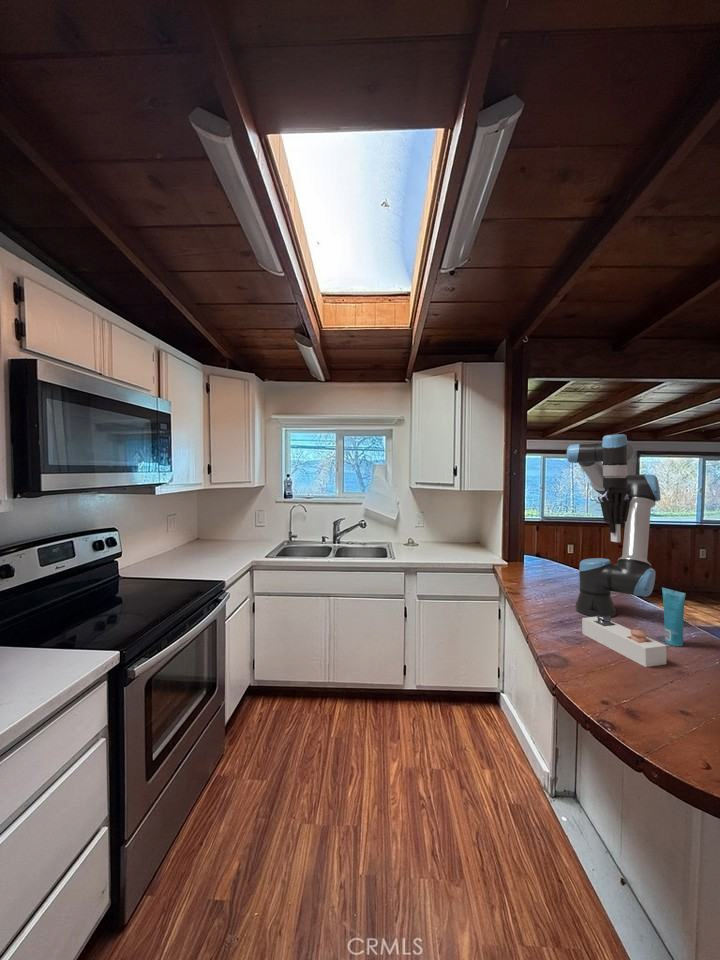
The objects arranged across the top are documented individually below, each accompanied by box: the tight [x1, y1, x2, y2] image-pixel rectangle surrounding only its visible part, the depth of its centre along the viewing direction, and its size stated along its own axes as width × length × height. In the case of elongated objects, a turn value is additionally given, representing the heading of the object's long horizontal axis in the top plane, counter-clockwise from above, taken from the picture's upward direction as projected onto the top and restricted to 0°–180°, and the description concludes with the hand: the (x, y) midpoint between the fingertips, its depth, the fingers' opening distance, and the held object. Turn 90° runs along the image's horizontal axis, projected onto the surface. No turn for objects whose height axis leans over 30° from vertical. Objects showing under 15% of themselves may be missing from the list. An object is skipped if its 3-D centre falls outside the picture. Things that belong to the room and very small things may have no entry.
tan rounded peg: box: [630, 628, 648, 643], centre depth 127 cm, size 4×4×7 cm
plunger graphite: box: [597, 614, 612, 626], centre depth 141 cm, size 4×4×7 cm
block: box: [581, 616, 667, 668], centre depth 134 cm, size 8×26×6 cm, turn 11°
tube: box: [661, 587, 687, 647], centre depth 136 cm, size 7×5×19 cm, turn 26°
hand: (615, 541), depth 139 cm, fingers closed
